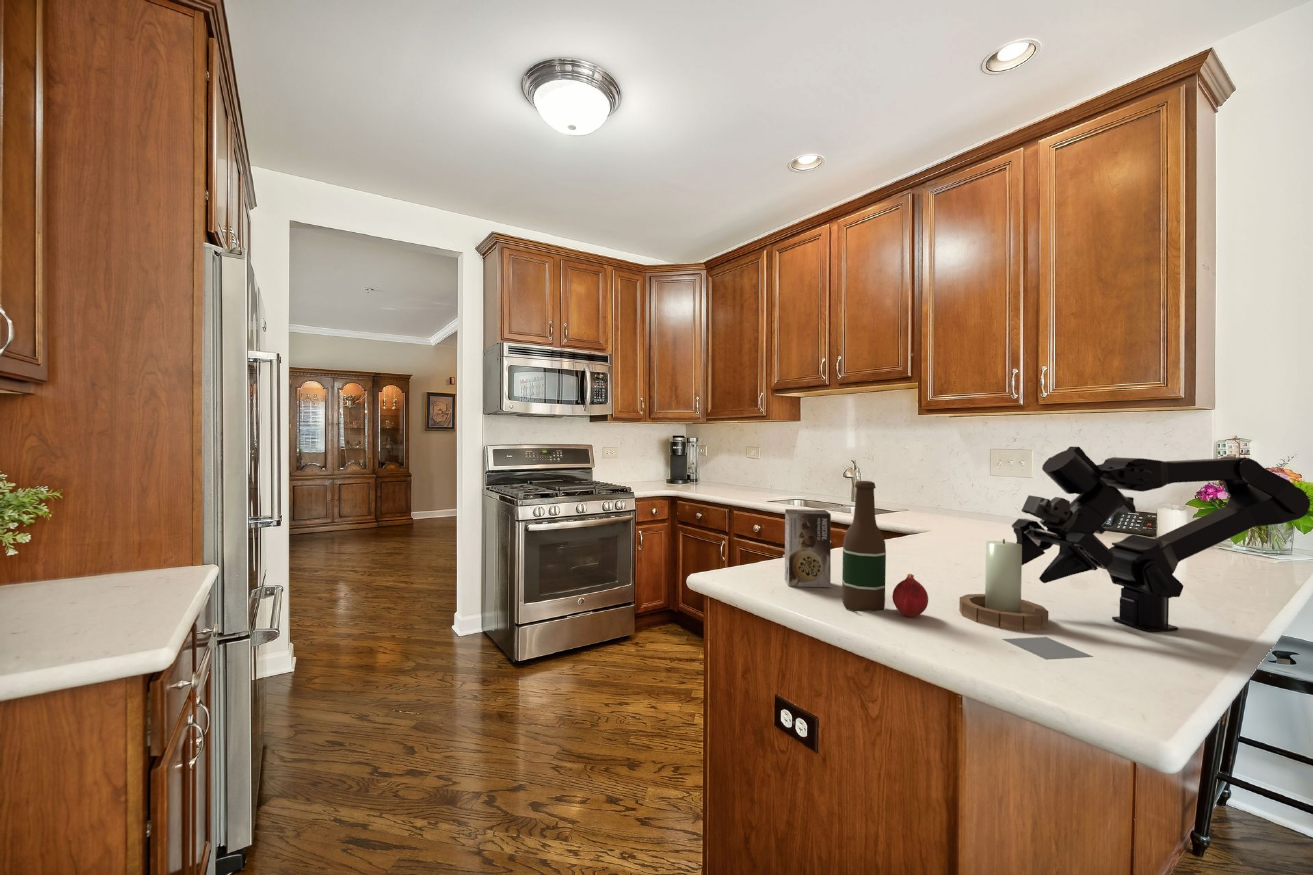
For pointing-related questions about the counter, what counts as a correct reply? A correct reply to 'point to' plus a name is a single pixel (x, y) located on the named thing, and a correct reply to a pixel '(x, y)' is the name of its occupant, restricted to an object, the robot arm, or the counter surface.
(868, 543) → the beer bottle
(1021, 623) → the bowl
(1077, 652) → the mat
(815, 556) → the coffee box
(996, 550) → the candle
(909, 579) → the onion
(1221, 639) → the counter surface
